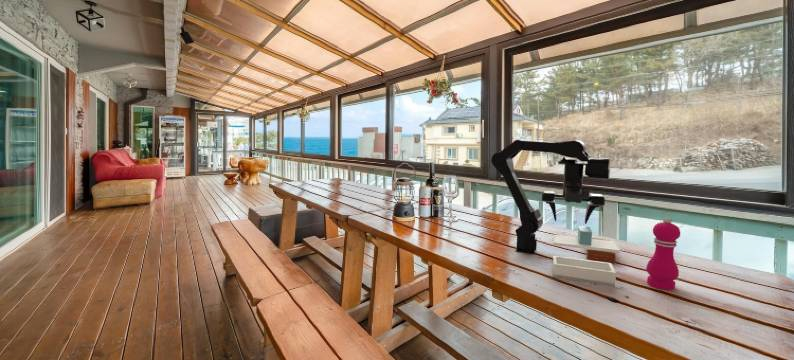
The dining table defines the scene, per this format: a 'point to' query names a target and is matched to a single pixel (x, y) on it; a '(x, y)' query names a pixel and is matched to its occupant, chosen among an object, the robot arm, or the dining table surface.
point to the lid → (585, 241)
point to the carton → (600, 255)
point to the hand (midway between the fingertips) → (570, 222)
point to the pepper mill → (663, 256)
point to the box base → (584, 270)
